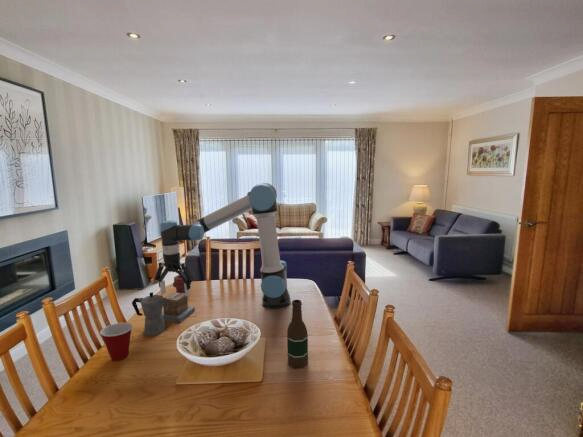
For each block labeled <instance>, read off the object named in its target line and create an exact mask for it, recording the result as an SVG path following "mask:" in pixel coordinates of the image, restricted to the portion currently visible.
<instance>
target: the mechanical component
mask: <svg viewBox="0 0 583 437" xmlns="http://www.w3.org/2000/svg"><path fill="white" fill-rule="evenodd" d="M184 284H185V281H184V280H183V279H182V278H181V277H180V276H179V274H178V275H175V276H174V277H173V282H172V286H173V287H174V288H175V293H185V287H184ZM190 285H192V282H190Z"/></svg>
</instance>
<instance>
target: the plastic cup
mask: <svg viewBox="0 0 583 437" xmlns="http://www.w3.org/2000/svg"><path fill="white" fill-rule="evenodd" d="M133 328H134V325H133V323H131V322H118V323H112V324H110V325H107V326H105V327H104V328H102V329H101V330H100V331H99V332H100V335H101V337H102V339H103V341H104V344H105V347H106V349H107V350H106V351H107V352H108V355H109V358H110V360H111V361H112V362H120V361H123V360H124V359H126V358H127V357H129V356H128V355H129V351H130V345H131V342H130V341H131V334H132V330H133Z"/></svg>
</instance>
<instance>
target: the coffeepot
mask: <svg viewBox="0 0 583 437" xmlns="http://www.w3.org/2000/svg"><path fill="white" fill-rule="evenodd" d="M148 294H149V295H148V296H145V297H135V298H134V299H133V300H132V301H131V305H132V307H133V309H134V310H135V313H136V315H137V316H140V317H142V316H144V317H145V318H144V328H143V329H144V331H143V334H144V336H147V337H148V336H151V337H152V336H157V335H160V334H162V333H163V332H164V331H165V330H166V323H165V321H164V320H163V317H162V312H163V305H164V303H165V302H166V301H167V298H165V297H164V296H163V295H161V294H154V292H150V293H148ZM137 303H140V304H141V308H142V312H143V313H142V312H141V313H140V309H139V308H138V304H137Z"/></svg>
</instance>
